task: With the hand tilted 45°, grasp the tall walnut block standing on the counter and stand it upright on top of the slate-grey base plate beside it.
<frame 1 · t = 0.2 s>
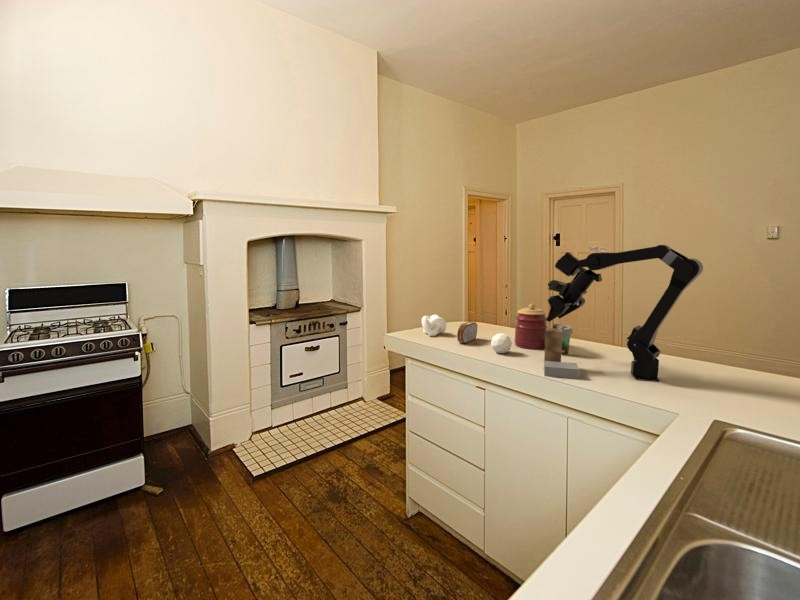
hand: (553, 319, 146), 15 cm above the worktop, tool tilted 35°, fingers open, 9 cm apart
canister: (530, 346, 169), on the worktop
walnut block: (552, 366, 139), on the worktop
tin: (467, 342, 176), on the worktop
white lumpy piece: (434, 334, 191), on the worktop
ball: (501, 353, 158), on the worktop
grey base plate: (560, 373, 131), on the worktop
food container: (562, 352, 159), on the worktop
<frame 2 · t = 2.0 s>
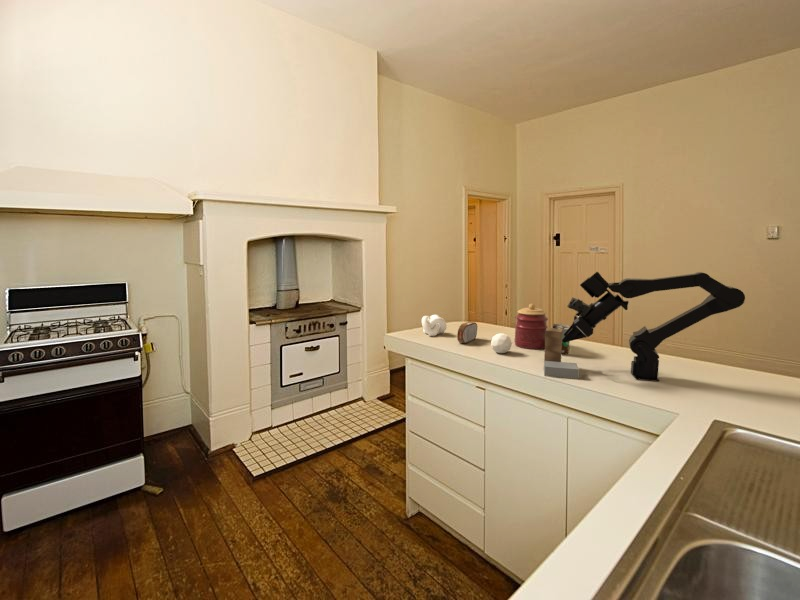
hand: (563, 338, 136), 10 cm above the worktop, tool tilted 45°, fingers open, 9 cm apart
nothing on the worktop moved.
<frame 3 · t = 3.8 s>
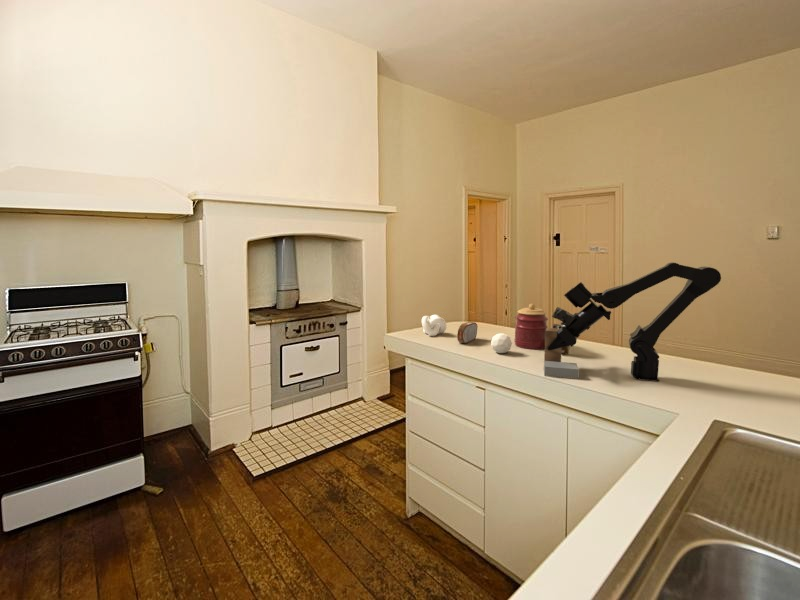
hand: (548, 347, 139), 7 cm above the worktop, tool tilted 45°, fingers closed on walnut block, 5 cm apart
walnut block: (552, 366, 139), on the worktop, touching gripper
everything else where it was.
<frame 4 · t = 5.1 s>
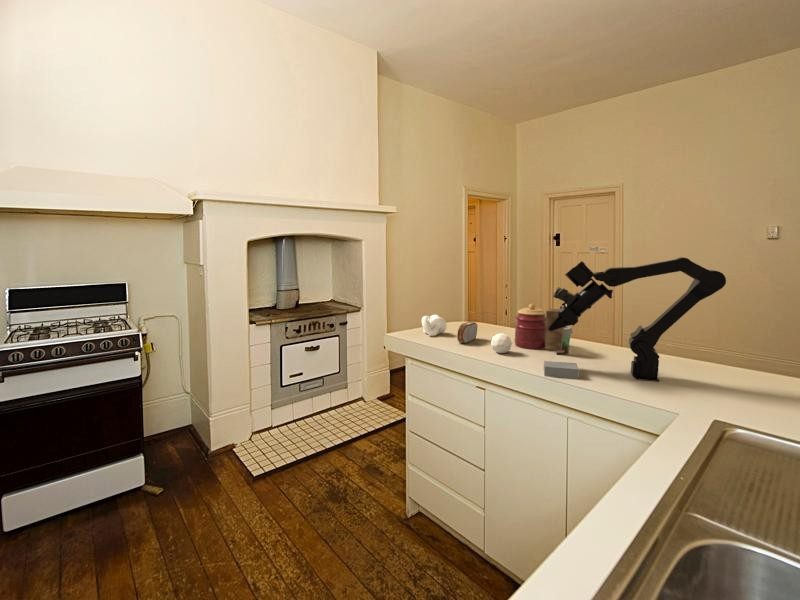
hand: (550, 328, 138), 13 cm above the worktop, tool tilted 45°, fingers closed on walnut block, 5 cm apart
walnut block: (553, 347, 138), point 7 cm above the worktop, touching gripper
everything else where it was.
when the fingers open (11 cm above the worktop, at t = 6.7 s): walnut block drops 1 cm, resting on grey base plate.
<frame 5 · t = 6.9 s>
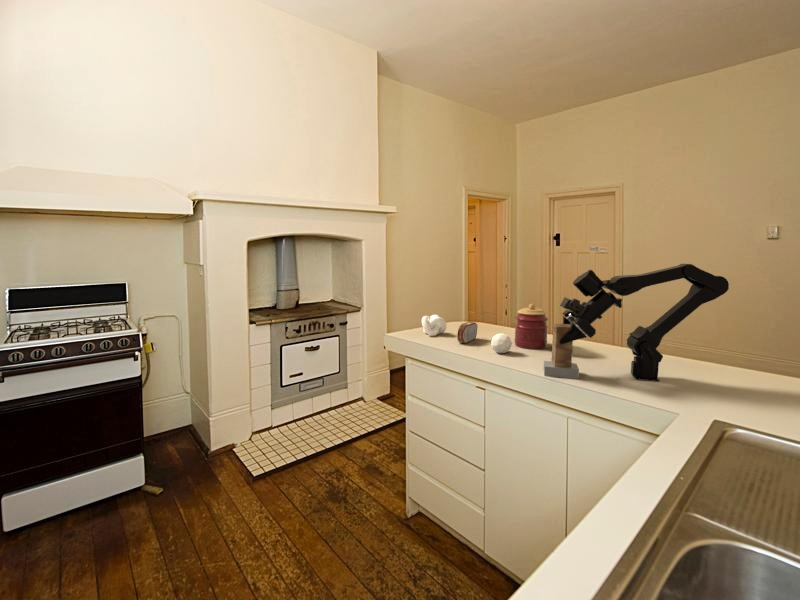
hand: (557, 340, 130), 11 cm above the worktop, tool tilted 45°, fingers open, 7 cm apart
walnut block: (561, 365, 131), point 3 cm above the worktop, touching grey base plate
everything else where it was.
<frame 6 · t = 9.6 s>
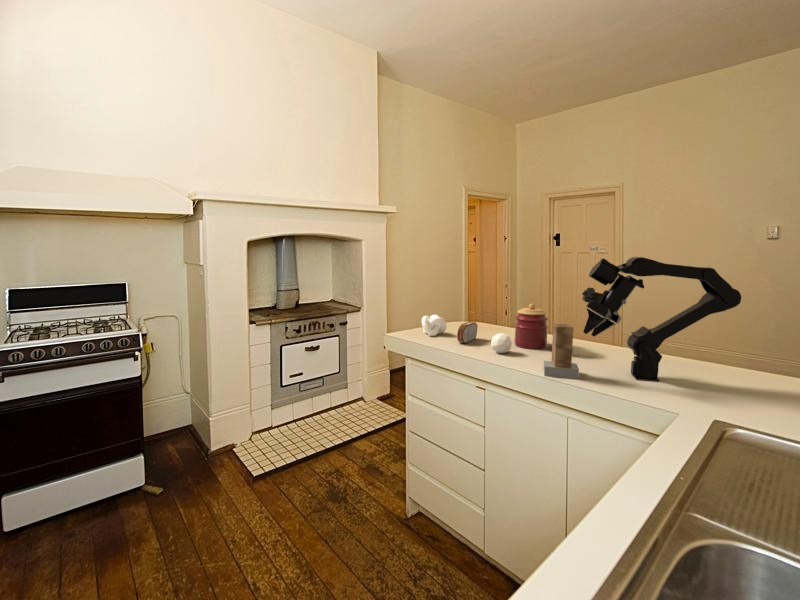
hand: (588, 334, 130), 13 cm above the worktop, tool tilted 30°, fingers open, 9 cm apart
nothing on the worktop moved.
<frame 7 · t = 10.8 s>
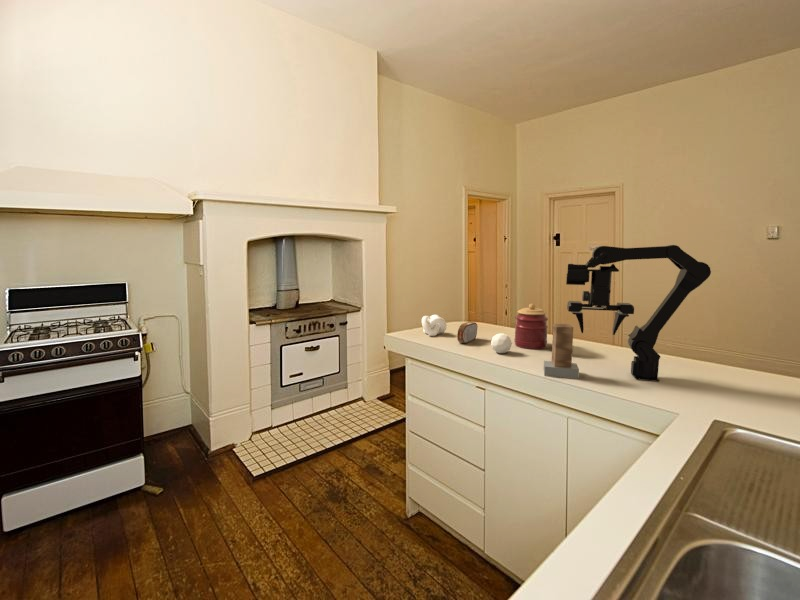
hand: (597, 333, 131), 13 cm above the worktop, tool pointing down, fingers open, 9 cm apart
nothing on the worktop moved.
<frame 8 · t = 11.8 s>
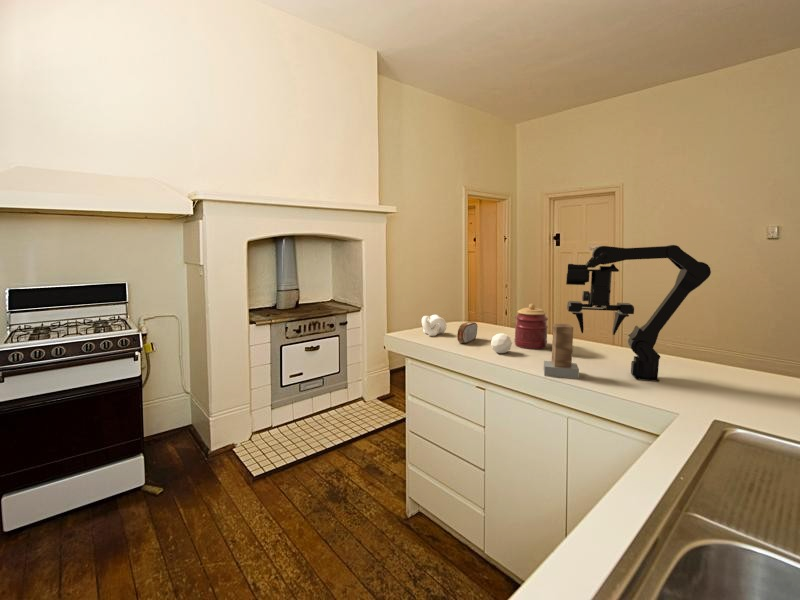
hand: (597, 333, 131), 13 cm above the worktop, tool pointing down, fingers open, 9 cm apart
nothing on the worktop moved.
at the end: walnut block inside the target area on the grey base plate (0.1 cm from its centre), point 3.0 cm above the grey base plate's base; walnut block tilted 0°; the gripper is holding nothing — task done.
